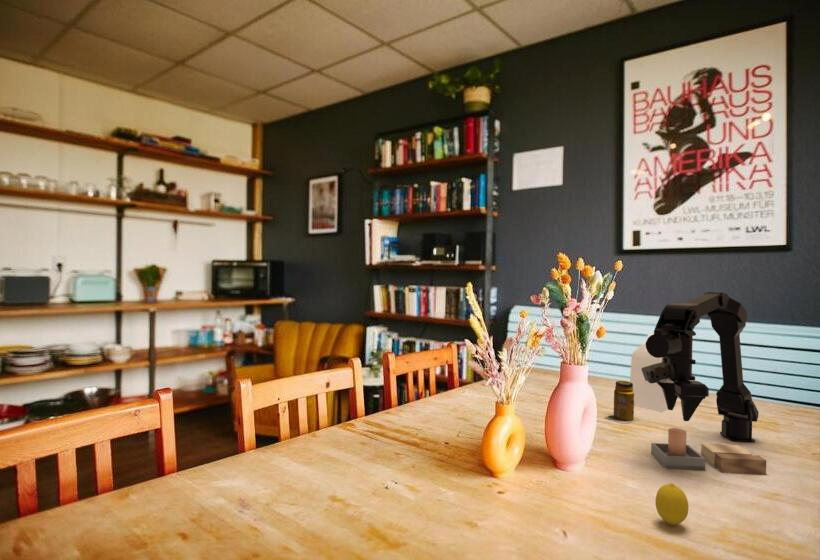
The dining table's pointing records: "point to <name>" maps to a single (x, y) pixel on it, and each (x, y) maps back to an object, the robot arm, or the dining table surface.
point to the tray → (678, 458)
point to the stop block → (740, 463)
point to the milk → (643, 390)
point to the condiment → (623, 403)
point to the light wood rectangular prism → (720, 451)
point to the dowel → (676, 442)
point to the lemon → (671, 504)
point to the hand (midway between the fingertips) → (677, 415)
